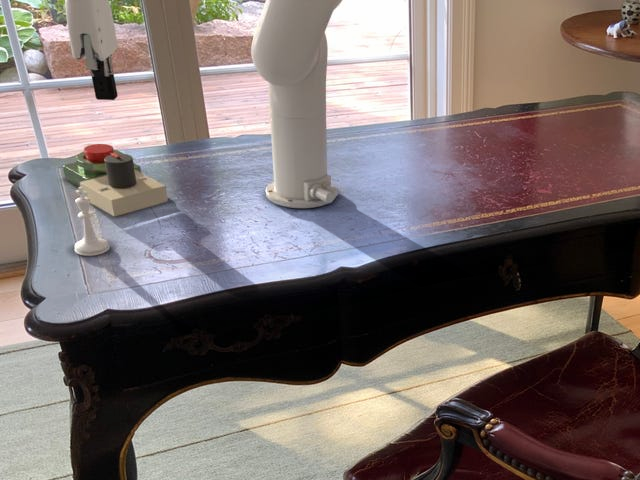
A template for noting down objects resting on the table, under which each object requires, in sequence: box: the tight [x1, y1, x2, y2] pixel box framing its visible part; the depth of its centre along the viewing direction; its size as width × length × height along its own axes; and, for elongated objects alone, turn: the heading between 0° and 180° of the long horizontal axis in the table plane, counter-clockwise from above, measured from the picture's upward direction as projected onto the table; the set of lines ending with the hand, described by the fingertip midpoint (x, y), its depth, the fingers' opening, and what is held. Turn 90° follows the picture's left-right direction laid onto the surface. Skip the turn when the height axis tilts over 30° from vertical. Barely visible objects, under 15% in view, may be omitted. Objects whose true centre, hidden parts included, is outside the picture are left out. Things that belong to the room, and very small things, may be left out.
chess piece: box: [74, 187, 111, 257], centre depth 123 cm, size 5×5×10 cm
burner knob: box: [104, 153, 136, 188], centre depth 138 cm, size 4×4×5 cm
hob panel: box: [80, 170, 169, 217], centre depth 141 cm, size 10×10×3 cm
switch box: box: [62, 149, 142, 188], centre depth 147 cm, size 10×8×4 cm
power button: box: [83, 143, 115, 162], centre depth 145 cm, size 5×5×2 cm
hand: (107, 98), depth 141 cm, fingers closed
